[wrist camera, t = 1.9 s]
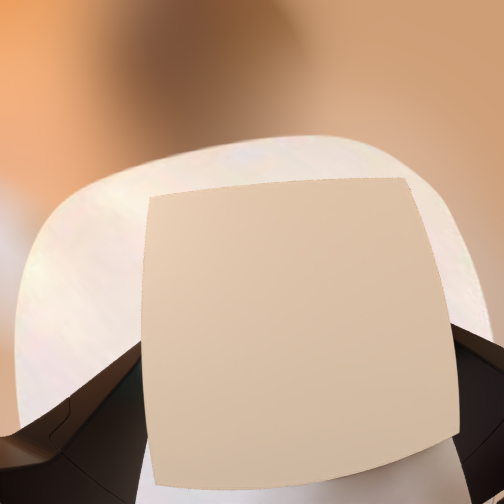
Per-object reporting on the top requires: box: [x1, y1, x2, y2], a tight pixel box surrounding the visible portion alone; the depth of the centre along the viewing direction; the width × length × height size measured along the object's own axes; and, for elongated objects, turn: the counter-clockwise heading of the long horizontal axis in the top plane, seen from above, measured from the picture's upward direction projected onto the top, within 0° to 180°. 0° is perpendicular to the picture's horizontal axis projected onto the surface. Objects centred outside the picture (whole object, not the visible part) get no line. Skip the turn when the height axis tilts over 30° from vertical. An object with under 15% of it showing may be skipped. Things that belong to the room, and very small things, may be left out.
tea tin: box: [141, 178, 460, 490], centre depth 10 cm, size 5×5×13 cm
